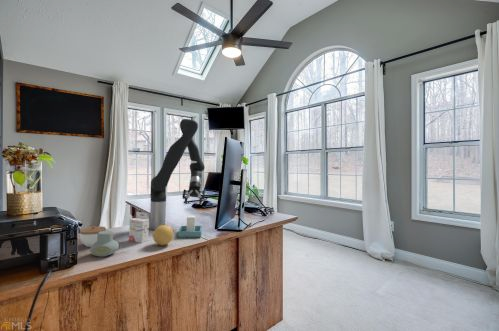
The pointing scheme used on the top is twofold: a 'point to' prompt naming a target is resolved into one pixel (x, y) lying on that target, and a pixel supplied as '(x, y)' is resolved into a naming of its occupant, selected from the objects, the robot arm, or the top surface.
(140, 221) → the ink cartridge box
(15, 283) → the top surface
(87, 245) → the lidded jar
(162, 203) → the robot arm
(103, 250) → the air freshener
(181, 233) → the tray
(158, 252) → the top surface
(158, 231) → the stress ball
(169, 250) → the top surface
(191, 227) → the stop block
